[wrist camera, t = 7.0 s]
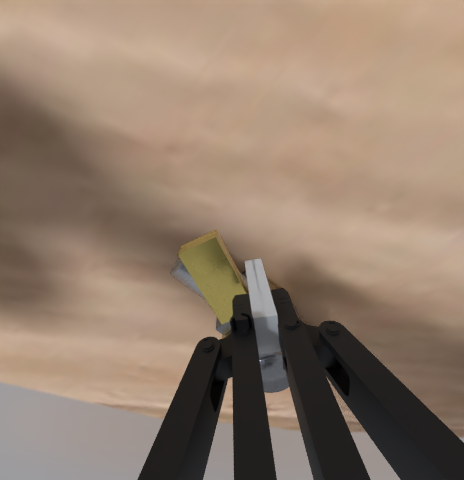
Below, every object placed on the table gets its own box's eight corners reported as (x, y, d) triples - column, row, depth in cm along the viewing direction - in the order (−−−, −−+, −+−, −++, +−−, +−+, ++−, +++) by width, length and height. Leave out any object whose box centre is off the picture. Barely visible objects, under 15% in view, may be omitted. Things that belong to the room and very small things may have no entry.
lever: (297, 367, 23) (303, 383, 21) (257, 382, 23) (259, 398, 22) (224, 225, 17) (224, 232, 15) (173, 249, 17) (168, 258, 16)
